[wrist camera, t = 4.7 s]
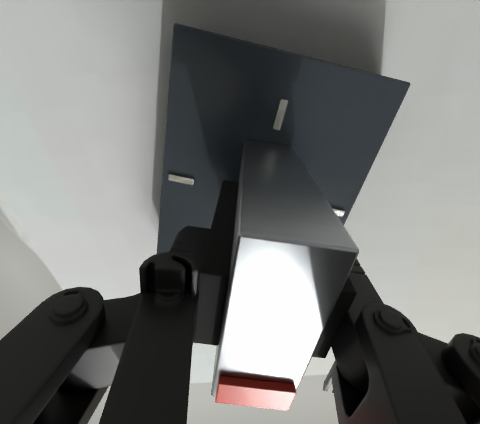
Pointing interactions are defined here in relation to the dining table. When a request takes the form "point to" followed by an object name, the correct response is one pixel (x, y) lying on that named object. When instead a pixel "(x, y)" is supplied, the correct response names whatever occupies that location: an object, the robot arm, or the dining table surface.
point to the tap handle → (277, 279)
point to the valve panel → (264, 122)
